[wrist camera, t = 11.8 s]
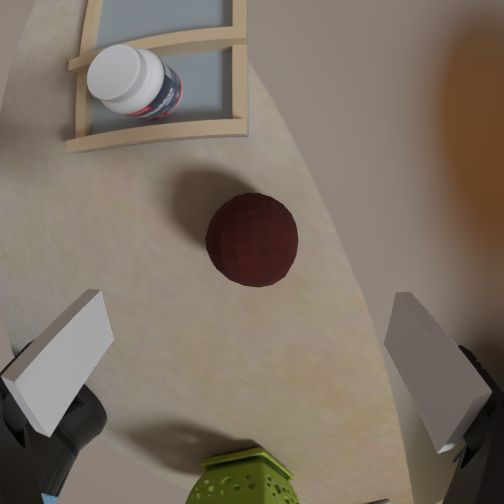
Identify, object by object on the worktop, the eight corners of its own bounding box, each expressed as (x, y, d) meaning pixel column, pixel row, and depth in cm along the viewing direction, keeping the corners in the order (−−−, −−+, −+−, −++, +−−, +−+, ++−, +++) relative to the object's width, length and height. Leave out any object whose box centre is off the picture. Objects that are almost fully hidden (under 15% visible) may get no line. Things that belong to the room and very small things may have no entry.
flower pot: (265, 435, 37) (265, 508, 25) (303, 468, 41) (308, 527, 29) (191, 452, 40) (178, 514, 27) (236, 483, 43) (231, 537, 31)
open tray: (85, 152, 25) (66, 153, 21) (100, -17, 18) (87, -29, 15) (248, 136, 24) (246, 133, 21) (247, -45, 17) (245, -63, 14)
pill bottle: (147, 132, 24) (98, 127, 15) (120, 92, 22) (67, 74, 14) (195, 97, 23) (163, 72, 14) (165, 57, 21) (125, 22, 13)
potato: (289, 183, 26) (299, 194, 19) (295, 265, 28) (305, 300, 21) (207, 192, 26) (189, 206, 19) (219, 272, 29) (207, 308, 22)
